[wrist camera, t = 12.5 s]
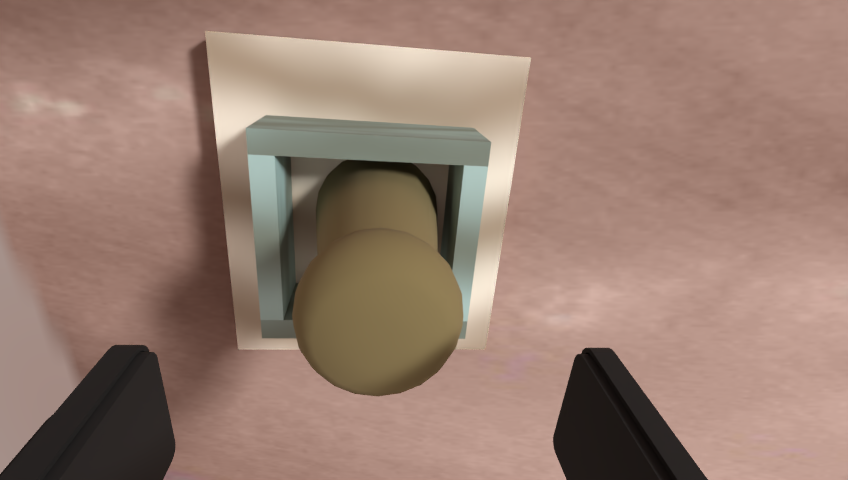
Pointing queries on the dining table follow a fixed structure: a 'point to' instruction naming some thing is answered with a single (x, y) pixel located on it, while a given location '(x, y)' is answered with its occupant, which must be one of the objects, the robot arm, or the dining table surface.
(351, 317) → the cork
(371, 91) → the shaker caddy
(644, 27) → the dining table surface
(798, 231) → the dining table surface
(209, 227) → the dining table surface
